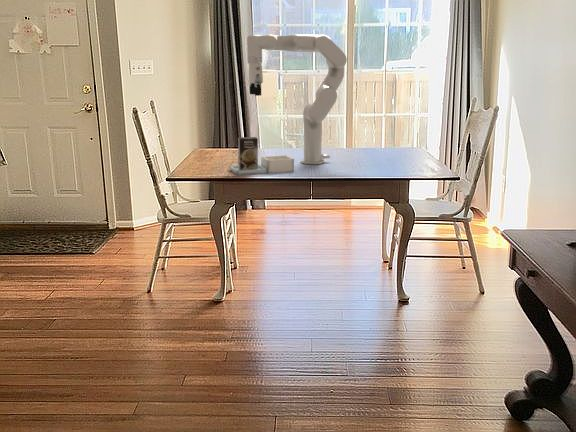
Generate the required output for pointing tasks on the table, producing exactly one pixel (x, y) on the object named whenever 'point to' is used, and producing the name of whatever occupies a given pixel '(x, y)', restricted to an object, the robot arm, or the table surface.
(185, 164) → the table surface
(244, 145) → the coffee box
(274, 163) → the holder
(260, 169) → the tray
